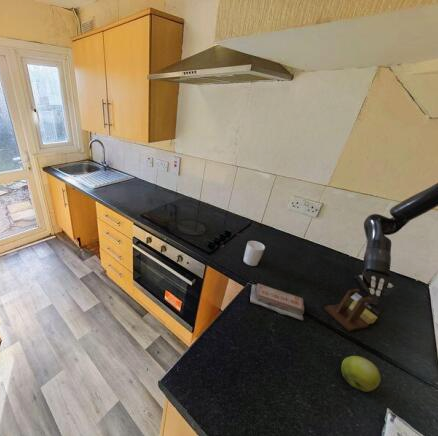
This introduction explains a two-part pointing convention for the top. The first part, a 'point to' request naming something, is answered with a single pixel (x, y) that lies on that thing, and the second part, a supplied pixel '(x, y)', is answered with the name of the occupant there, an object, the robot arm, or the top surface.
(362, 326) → the brown pronged stand
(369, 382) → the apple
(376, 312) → the grey t-shaped tool
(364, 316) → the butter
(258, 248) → the white cup
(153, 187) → the top surface
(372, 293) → the robot arm
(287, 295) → the packaged product
